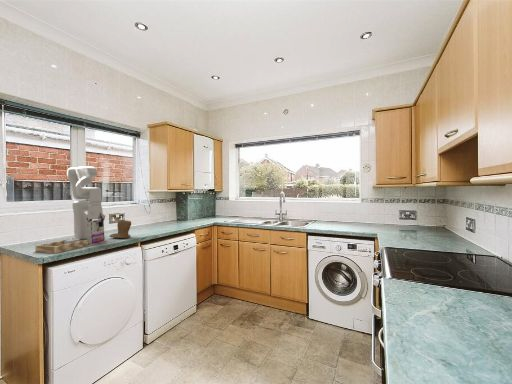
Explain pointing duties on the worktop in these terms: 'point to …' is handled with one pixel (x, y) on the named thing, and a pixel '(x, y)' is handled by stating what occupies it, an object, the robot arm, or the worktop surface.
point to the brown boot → (122, 229)
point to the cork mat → (97, 242)
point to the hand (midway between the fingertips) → (95, 226)
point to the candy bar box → (94, 232)
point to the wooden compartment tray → (59, 246)
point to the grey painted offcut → (71, 241)
